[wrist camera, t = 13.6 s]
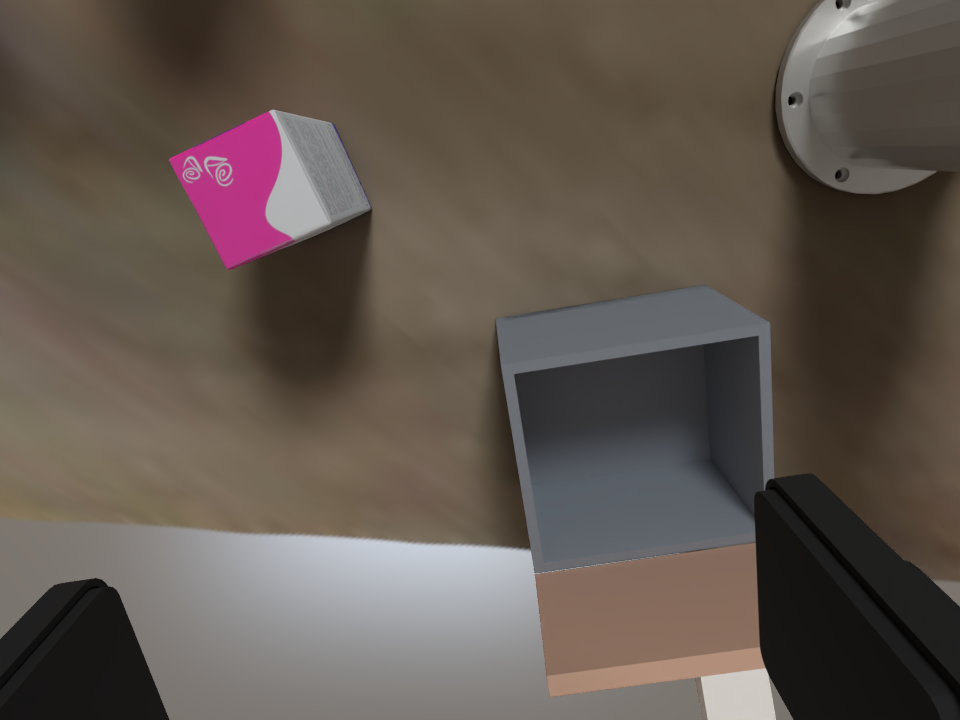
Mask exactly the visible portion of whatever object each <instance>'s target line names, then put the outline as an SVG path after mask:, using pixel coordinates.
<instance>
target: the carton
mask: <svg viewBox="0 0 960 720" xmlns="http://www.w3.org/2000/svg"><path fill="white" fill-rule="evenodd" d="M496 327H497V335H498V344H499V353H500V362H501V369H502V375H503V381H504V387H505V393H506V400H507V406H508V412H509V418H510V424H511V430H512V436H513V442H514V448H515V455H516V461H517V467H518V473H519V479H520V485H521V491H522V497H523V504H524V510H525V516H526V522H527V528H528V534H529V540H530V546H531V552H532V559H533V565H534V571H535V573H541V572H548V571H555V570H562V569H569V568H576V567H583V566H590V565H596V564H604V563H611V562H617V561H625V560H632V559H639V558H646V557H652V556H659V555H667V554H674V553H681V552H688V551H695V550H702V549H709V548H716V547H723V546H730V545H737V544H744V543H751V542H756V540H755V515H754V496H755V493H756V492H757V491H764V490H765V486H766V483H767V481H768V480H769V479H774V446H773V411H772V376H771V340H770V322H768V321H766V320H765V319H763V318H761V317H760V316H758V315H756V314H754V313H753V312H751V311H749V310H748V309H746V308H744V307H742V306H741V305H739V304H737V303H736V302H734V301H732V300H730V299H729V298H727V297H725V296H724V295H722V294H720V293H718V292H717V291H715V290H713V289H712V288H710V287H708V286H706V285H701V286H695V287H689V288H682V289H676V290H670V291H664V292H658V293H651V294H645V295H639V296H633V297H627V298H620V299H614V300H608V301H602V302H596V303H589V304H583V305H577V306H571V307H565V308H558V309H552V310H546V311H540V312H534V313H527V314H521V315H515V316H509V317H503V318H496Z"/></svg>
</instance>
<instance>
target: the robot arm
mask: <svg viewBox="0 0 960 720" xmlns="http://www.w3.org/2000/svg"><path fill="white" fill-rule="evenodd" d="M836 1H837V2H838V3H839V7H838V9H837V8H836V4H835V3H836ZM789 97H791V98H792V103H791V105H789V104H788V98H789ZM775 109H776V115H777V121H778V127H779V131H780V134H781V136H782V139H783V141H784V144H785V147H786V148H787V150H788V152H789V153H790V155H791V156H792V158H793V159H794V161H795V162H796V164H797V165H798V166H799V167H800V168H801V169H803V170H804V171H805V172H806V173H807V174H808V175H809V176H810V177H812V178H813V179H815V180H817V181H818V182H820V183H821V184H823V185H825V186H828V187H831V188H833V189H836V190H839V191H844V192H850V193H856V194H881V193H887V192H893V191H897V190H900V189H903V188H906V187H909V186H911V185H914V184H917V183H918V182H920V181H922V180H924V179H926V178H927V177H929V176H931V175H933V174H935V173H936V172H937V171H950V172H960V0H821V1H819V2H818V3H817V4H816V5H815V6H814V7H813V8H812V10H811V11H810V12H809V13H808V15H807V16H806V17H805V18H804V20H803V21H802V22H801V23H800V25H799V26H798V28H797V30H796V32H795V33H794V35H793V37H792V39H791V40H790V42H789V44H788V46H787V49H786V52H785V54H784V57H783V60H782V62H781V65H780V69H779V74H778V79H777V84H776V105H775ZM836 172H838V176H837V177H836V178H835V174H836ZM754 515H755V540H756V565H757V591H758V616H759V641H760V651H761V655H762V659H763V662H764V665H765V668H766V670H767V672H768V674H769V676H770V678H771V680H772V682H773V683H774V685H775V687H776V689H777V690H778V693H779V694H780V696H781V698H782V700H783V701H784V703H785V705H786V707H787V709H788V710H789V712H790V714H791V716H792V717H793V719H794V720H960V607H959V606H958V605H957V604H956V603H955V602H954V601H953V600H952V599H951V598H950V597H949V596H948V595H947V594H946V593H945V592H943V591H942V590H941V589H940V588H939V587H938V586H937V585H936V584H935V583H934V582H933V581H932V580H931V579H930V578H929V577H928V576H927V575H925V574H924V573H923V572H922V571H921V570H920V569H919V568H917V567H916V566H915V565H913V564H912V563H911V562H908V561H904V560H903V559H902V558H901V557H900V556H899V555H898V554H896V553H895V552H894V551H893V550H892V549H891V548H890V547H889V546H888V545H887V544H886V543H885V542H884V541H883V540H882V539H881V538H880V537H879V536H878V535H877V534H876V533H875V532H874V531H872V530H871V529H870V528H869V527H868V526H867V525H866V524H865V523H864V522H863V521H862V520H861V519H860V518H859V517H858V516H857V515H856V514H855V513H854V512H853V511H852V510H851V509H850V508H848V507H847V506H846V505H845V504H844V503H843V502H842V501H841V500H840V499H839V498H838V497H837V496H836V495H835V494H834V493H833V492H832V491H831V490H830V489H829V488H828V487H827V486H826V485H824V484H823V483H822V482H821V481H820V480H819V479H818V478H817V477H816V476H814V475H813V474H801V475H794V476H787V477H780V478H774V479H769V480H768V481H767V483H766V486H765V490H764V491H757V492H756V493H755V496H754ZM0 720H169V718H168V715H167V713H166V710H165V708H164V705H163V703H162V700H161V698H160V695H159V693H158V690H157V688H156V685H155V683H154V681H153V678H152V675H151V673H150V671H149V668H148V665H147V663H146V660H145V658H144V655H143V653H142V650H141V648H140V645H139V643H138V640H137V638H136V636H135V633H134V630H133V628H132V625H131V623H130V620H129V618H128V615H127V613H126V610H125V608H124V605H123V603H122V600H121V598H120V595H119V594H118V592H117V590H116V589H114V588H113V587H108V586H107V584H106V583H105V582H104V581H103V580H101V579H97V578H94V579H87V580H80V581H74V582H67V583H61V584H57V585H54V586H53V587H52V588H50V589H49V590H48V591H47V592H46V593H45V594H44V595H43V596H42V597H41V598H40V599H39V600H38V601H37V602H36V603H35V604H34V605H33V606H32V607H31V608H30V609H29V610H28V611H27V612H26V613H25V614H24V615H23V616H22V618H20V620H19V621H18V622H17V623H16V624H15V625H14V626H13V627H12V628H11V629H10V630H9V631H8V632H7V633H6V634H5V635H4V636H3V637H2V638H1V639H0Z"/></svg>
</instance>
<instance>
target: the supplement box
mask: <svg viewBox="0 0 960 720" xmlns="http://www.w3.org/2000/svg"><path fill="white" fill-rule="evenodd" d="M169 161H170V163H171V165H172V167H173V169H174V171H175V173H176V175H177V177H178V178H179V180H180V182H181V184H182V186H183V188H184V189H185V191H186V193H187V195H188V196H189V198H190V200H191V202H192V203H193V205H194V207H195V209H196V211H197V213H198V215H199V217H200V219H201V221H202V223H203V225H204V227H205V229H206V231H207V233H208V234H209V236H210V238H211V240H212V242H213V244H214V246H215V248H216V250H217V252H218V254H219V256H220V258H221V260H222V262H223V263H224V265H225V268H226V269H227V270H228V269H234V268H237V267H239V266H242V265H244V264H247V263H249V262H251V261H254V260H256V259H259V258H261V257H263V256H266V255H268V254H271V253H273V252H275V251H278V250H280V249H283V248H286V247H288V246H291V245H294V244H296V243H299V242H301V241H304V240H306V239H309V238H311V237H313V236H316V235H318V234H320V233H323V232H325V231H327V230H330V229H332V228H334V227H337V226H339V225H341V224H343V223H345V222H347V221H350V220H352V219H354V218H356V217H358V216H360V215H362V214H364V213H366V212H368V211H370V210H372V207H371V205H370V202H369V200H368V198H367V196H366V194H365V191H364V189H363V187H362V185H361V183H360V181H359V178H358V176H357V174H356V172H355V169H354V167H353V165H352V163H351V161H350V158H349V156H348V154H347V152H346V150H345V147H344V145H343V143H342V141H341V138H340V136H339V134H338V132H337V130H336V127H335V126H334V124H333V123H329V122H325V121H321V120H316V119H312V118H308V117H303V116H299V115H295V114H290V113H285V112H281V111H277V110H271V111H269V112H266V113H264V114H262V115H260V116H258V117H256V118H254V119H251V120H249V121H247V122H245V123H243V124H241V125H239V126H237V127H235V128H232V129H230V130H228V131H226V132H224V133H222V134H220V135H218V136H216V137H214V138H212V139H210V140H208V141H206V142H203V143H201V144H199V145H197V146H195V147H193V148H191V149H189V150H187V151H185V152H182V153H180V154H178V155H176V156H174V157H172V158H170V159H169Z"/></svg>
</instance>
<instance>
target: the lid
mask: <svg viewBox="0 0 960 720" xmlns="http://www.w3.org/2000/svg"><path fill="white" fill-rule="evenodd" d="M535 578H536V587H537V595H538V604H539V613H540V622H541V631H542V640H543V648H544V657H545V666H546V675H547V682H548V688H549V694H550V697H554V696H562V695H569V694H576V693H584V692H591V691H599V690H607V689H613V688H621V687H629V686H636V685H643V684H651V683H658V682H666V681H674V680H681V679H688V678H696V685H697V691H698V697H699V702H700V708H701V715H702V720H776V717H775V711H774V705H773V699H772V694H771V688H770V682H769V676H768V672H767V670H766V668H765V665H764V662H763V659H762V655H761V651H760V641H759V616H758V591H757V565H756V543H751V544H744V545H737V546H730V547H723V548H716V549H709V550H702V551H695V552H688V553H681V554H674V555H668V556H660V557H653V558H646V559H639V560H633V561H625V562H619V563H611V564H605V565H597V566H590V567H583V568H577V569H570V570H563V571H555V572H548V573H541V574H535Z"/></svg>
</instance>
